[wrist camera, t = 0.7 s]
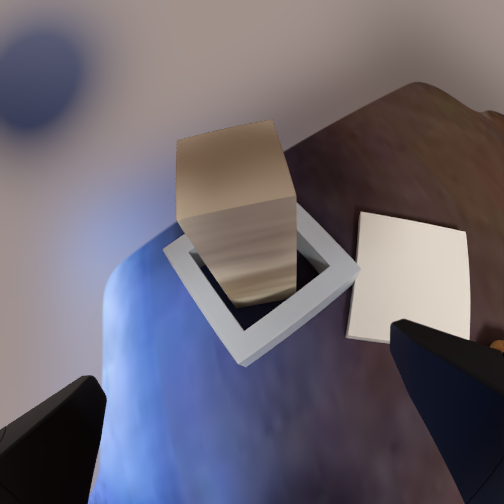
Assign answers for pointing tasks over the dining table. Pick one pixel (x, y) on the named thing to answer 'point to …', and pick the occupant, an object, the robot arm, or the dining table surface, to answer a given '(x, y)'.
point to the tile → (408, 278)
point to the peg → (240, 210)
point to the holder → (285, 315)
